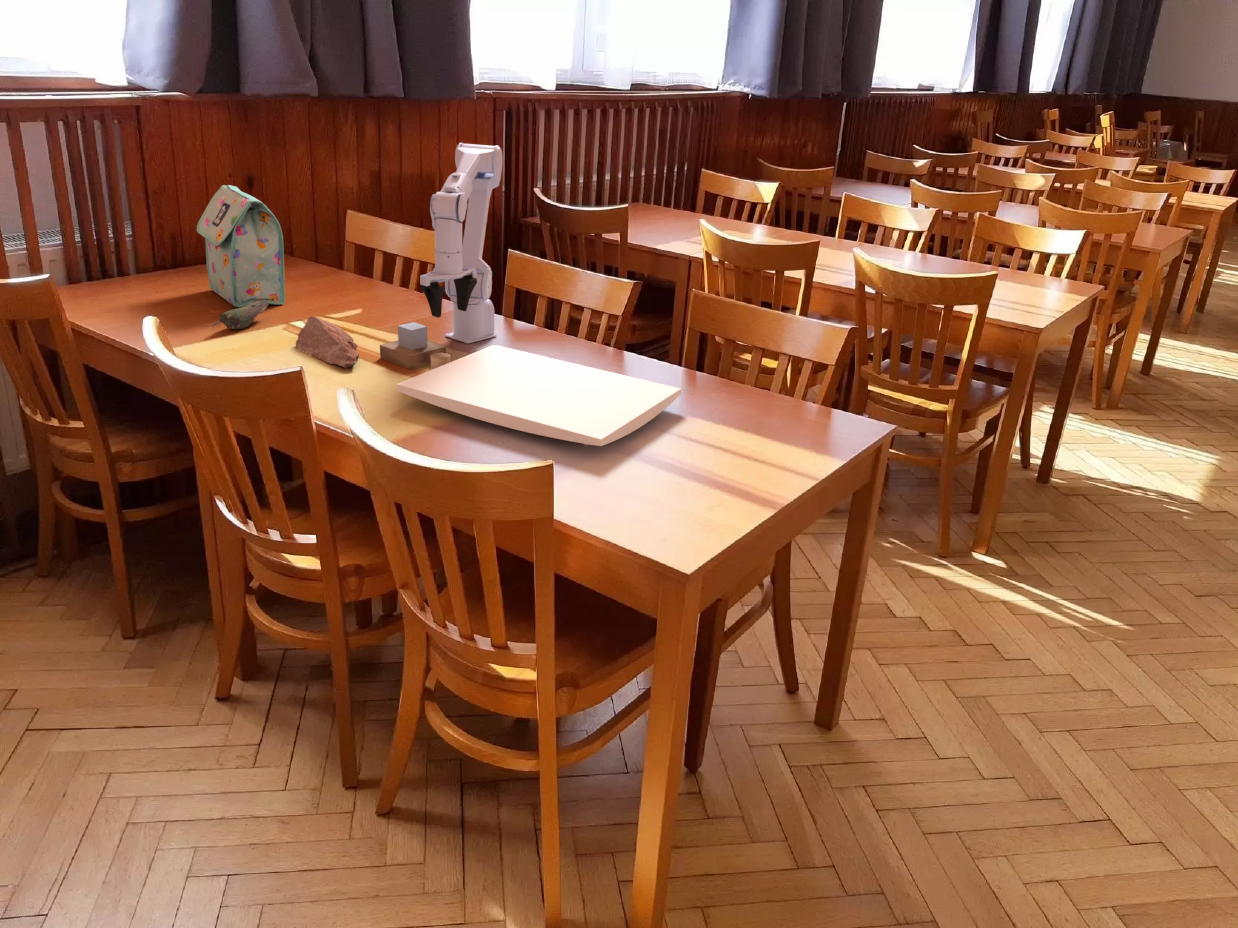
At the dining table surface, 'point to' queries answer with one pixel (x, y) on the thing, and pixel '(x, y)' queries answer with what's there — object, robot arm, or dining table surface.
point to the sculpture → (242, 315)
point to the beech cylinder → (439, 359)
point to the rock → (327, 342)
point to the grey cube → (412, 336)
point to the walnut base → (410, 354)
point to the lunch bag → (243, 248)
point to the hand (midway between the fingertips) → (449, 313)
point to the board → (542, 395)
